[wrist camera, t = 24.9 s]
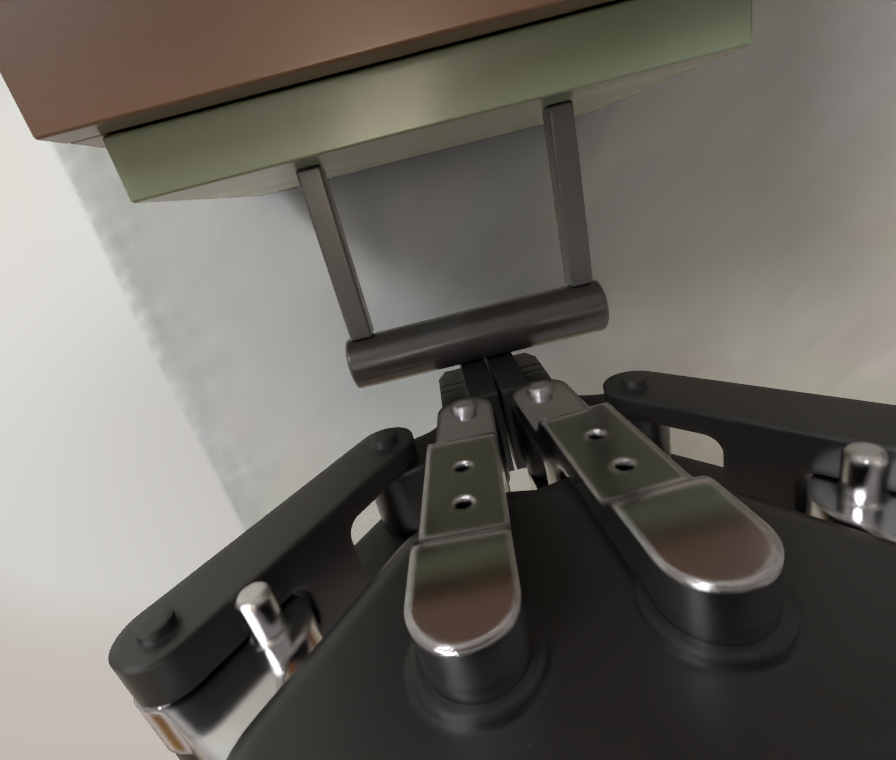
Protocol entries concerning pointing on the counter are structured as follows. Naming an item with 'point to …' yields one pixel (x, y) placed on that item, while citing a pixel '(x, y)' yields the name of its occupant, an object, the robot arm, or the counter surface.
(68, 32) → the cabinet
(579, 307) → the drawer
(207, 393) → the counter surface
